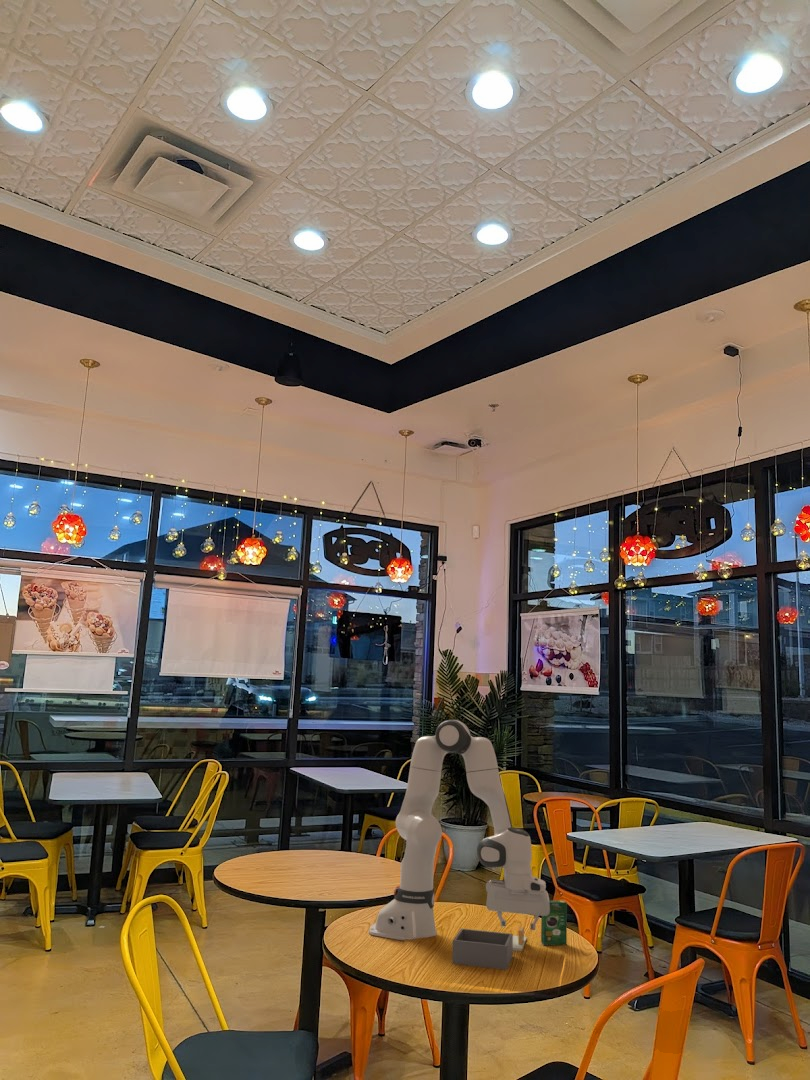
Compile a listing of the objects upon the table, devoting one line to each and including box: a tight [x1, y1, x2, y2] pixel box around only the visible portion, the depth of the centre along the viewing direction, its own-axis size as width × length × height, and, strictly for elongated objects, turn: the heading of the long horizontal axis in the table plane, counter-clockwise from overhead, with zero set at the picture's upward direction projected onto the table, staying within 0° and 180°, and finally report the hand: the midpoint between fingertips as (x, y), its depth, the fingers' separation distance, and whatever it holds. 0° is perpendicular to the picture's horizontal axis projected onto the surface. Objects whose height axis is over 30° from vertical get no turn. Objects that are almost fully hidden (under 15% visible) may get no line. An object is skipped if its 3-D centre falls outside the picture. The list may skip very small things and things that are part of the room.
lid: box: [513, 926, 528, 952], centre depth 248 cm, size 16×13×6 cm
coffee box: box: [540, 900, 568, 946], centre depth 250 cm, size 8×3×13 cm, turn 102°
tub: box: [451, 928, 514, 971], centre depth 230 cm, size 16×13×7 cm
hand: (518, 927), depth 246 cm, fingers open, 8 cm apart
